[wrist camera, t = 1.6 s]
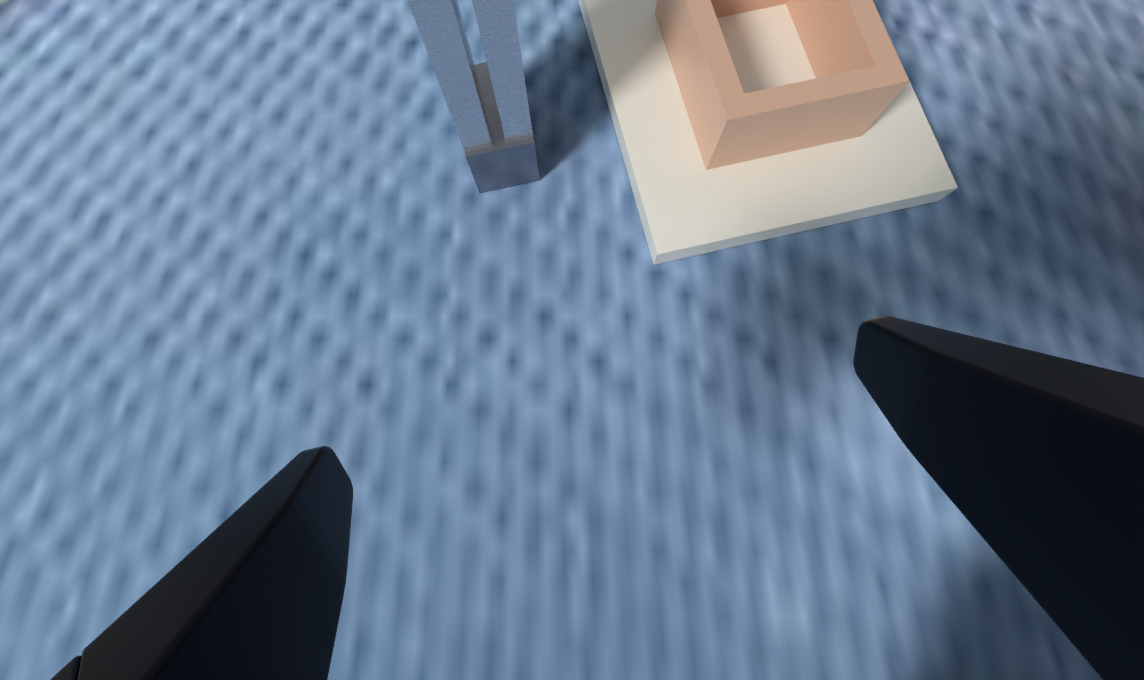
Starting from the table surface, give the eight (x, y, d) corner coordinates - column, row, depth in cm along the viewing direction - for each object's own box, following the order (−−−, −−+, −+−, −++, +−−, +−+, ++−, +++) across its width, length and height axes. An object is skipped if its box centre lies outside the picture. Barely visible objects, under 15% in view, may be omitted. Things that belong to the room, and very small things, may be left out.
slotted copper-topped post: (542, 179, 25) (500, -119, 12) (477, 193, 24) (366, -93, 12) (523, 102, 26) (466, -248, 13) (461, 115, 26) (343, -225, 13)
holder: (939, 200, 24) (1024, 139, 19) (653, 264, 23) (671, 217, 19) (825, -58, 28) (873, -161, 23) (576, -7, 27) (574, -102, 23)
